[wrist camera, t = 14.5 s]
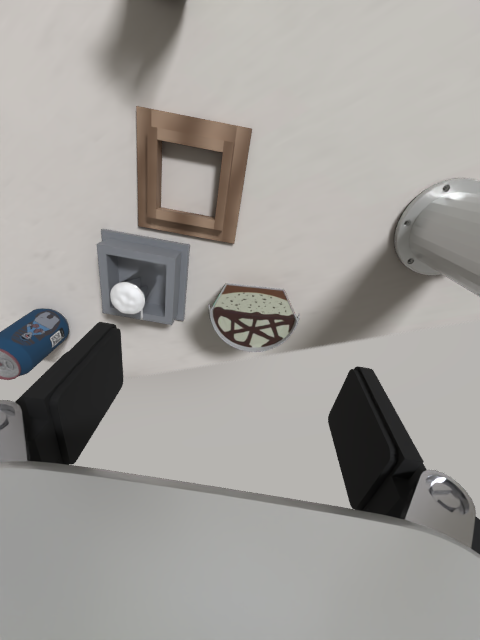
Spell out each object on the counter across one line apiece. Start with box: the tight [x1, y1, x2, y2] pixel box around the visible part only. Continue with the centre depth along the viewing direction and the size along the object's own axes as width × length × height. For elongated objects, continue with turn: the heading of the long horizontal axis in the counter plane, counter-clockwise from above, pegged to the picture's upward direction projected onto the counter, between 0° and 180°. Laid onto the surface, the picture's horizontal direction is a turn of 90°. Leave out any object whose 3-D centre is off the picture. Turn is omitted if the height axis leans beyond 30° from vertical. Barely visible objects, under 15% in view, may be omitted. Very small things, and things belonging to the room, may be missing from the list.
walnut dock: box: [136, 106, 252, 244], centre depth 36 cm, size 14×14×2 cm
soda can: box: [0, 309, 69, 380], centre depth 45 cm, size 7×7×12 cm
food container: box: [208, 283, 300, 352], centre depth 41 cm, size 12×6×10 cm, turn 85°
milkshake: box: [110, 268, 159, 320], centre depth 39 cm, size 4×5×10 cm
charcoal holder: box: [97, 229, 190, 325], centre depth 43 cm, size 13×13×4 cm
